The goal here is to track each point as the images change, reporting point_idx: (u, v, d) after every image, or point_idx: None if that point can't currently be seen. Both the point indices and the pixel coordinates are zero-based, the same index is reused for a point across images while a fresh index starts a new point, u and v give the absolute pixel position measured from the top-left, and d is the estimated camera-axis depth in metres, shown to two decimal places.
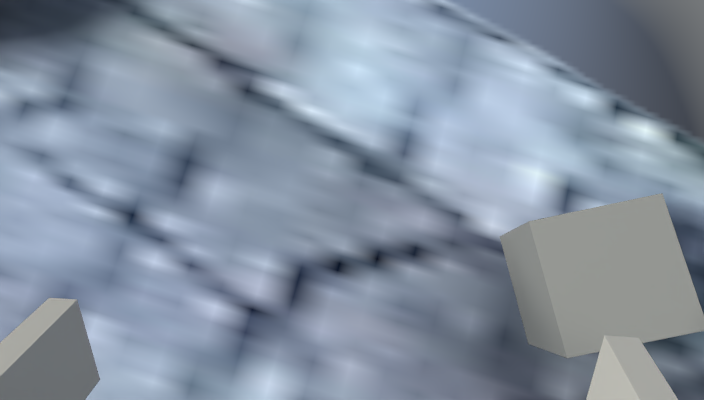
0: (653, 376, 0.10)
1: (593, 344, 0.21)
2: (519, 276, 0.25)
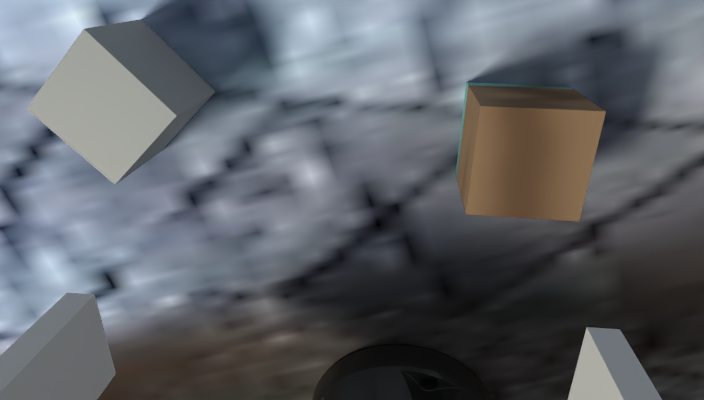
0: (633, 366, 0.10)
1: (122, 167, 0.27)
2: None
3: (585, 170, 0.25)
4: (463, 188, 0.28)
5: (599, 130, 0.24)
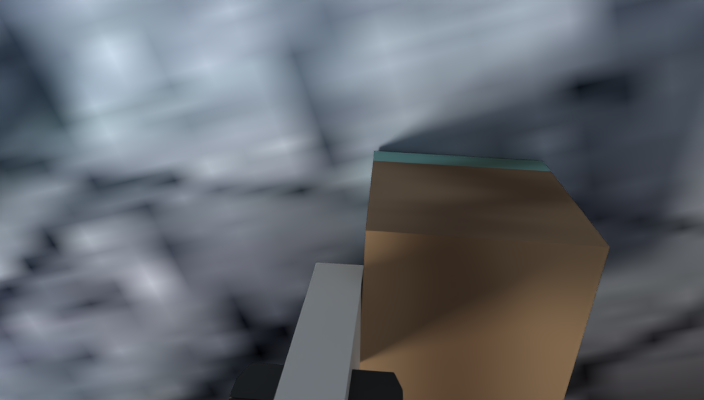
0: (352, 290, 0.13)
1: None
2: None
3: (568, 343, 0.13)
4: None
5: (596, 279, 0.12)
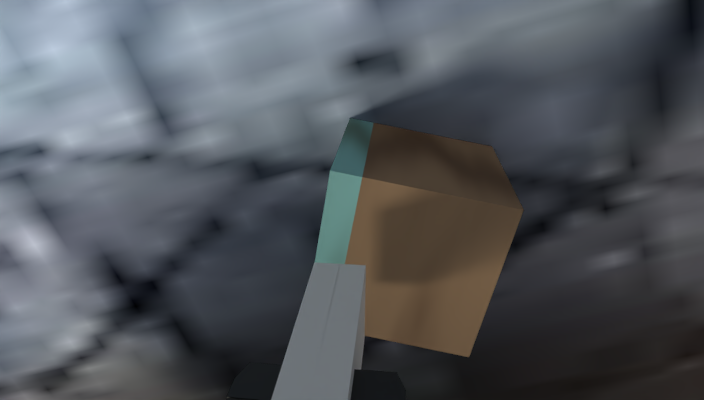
0: (355, 289, 0.13)
1: None
2: None
3: None
4: (419, 331, 0.17)
5: None
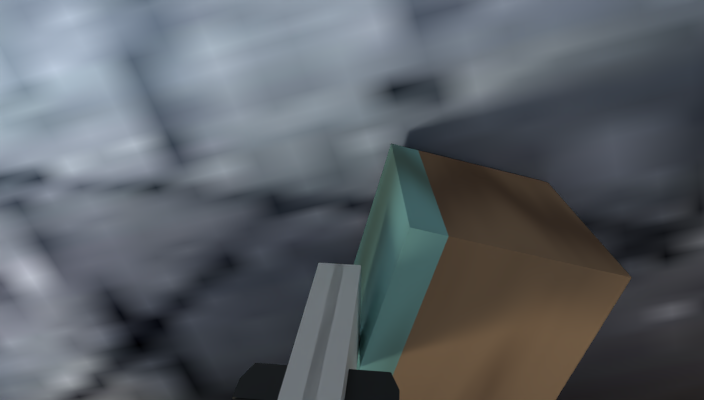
0: (349, 289, 0.13)
1: None
2: None
3: None
4: None
5: None
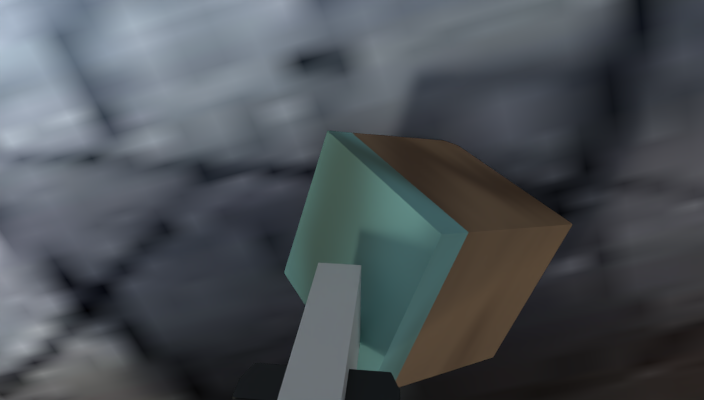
0: (350, 289, 0.13)
1: None
2: None
3: None
4: (465, 354, 0.17)
5: None
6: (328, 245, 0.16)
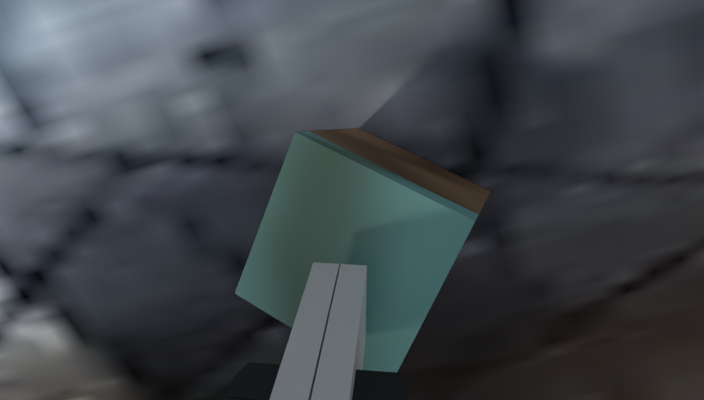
0: (356, 289, 0.13)
1: None
2: None
3: None
4: None
5: None
6: (312, 252, 0.15)
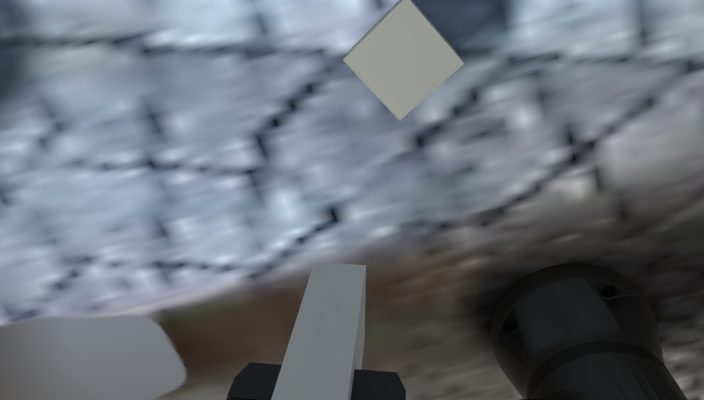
0: (355, 289, 0.13)
1: (409, 106, 0.35)
2: None
3: None
4: None
5: None
6: None
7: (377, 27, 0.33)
